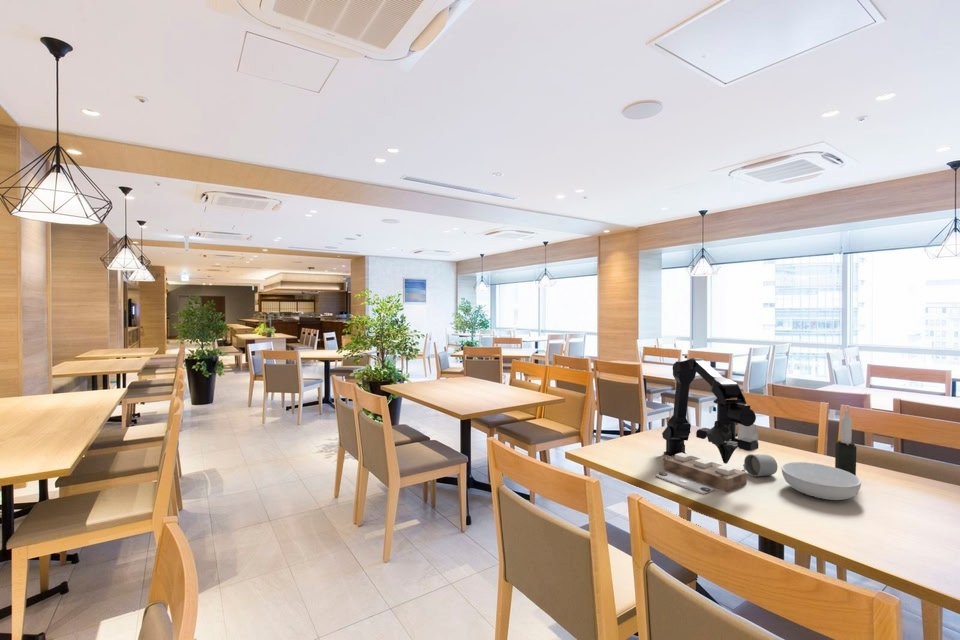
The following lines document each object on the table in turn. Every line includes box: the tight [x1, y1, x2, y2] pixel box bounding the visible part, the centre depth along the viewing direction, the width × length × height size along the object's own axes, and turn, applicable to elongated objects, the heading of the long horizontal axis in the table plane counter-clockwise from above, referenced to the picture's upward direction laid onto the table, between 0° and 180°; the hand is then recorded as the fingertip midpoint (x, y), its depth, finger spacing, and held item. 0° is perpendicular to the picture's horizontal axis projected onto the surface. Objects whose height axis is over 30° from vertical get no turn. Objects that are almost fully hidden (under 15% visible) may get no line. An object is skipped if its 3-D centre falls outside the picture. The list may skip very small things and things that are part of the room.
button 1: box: [675, 452, 692, 462], centre depth 168 cm, size 4×4×3 cm
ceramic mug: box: [742, 453, 778, 477], centre depth 164 cm, size 11×8×8 cm
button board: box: [663, 455, 748, 492], centre depth 161 cm, size 24×12×4 cm, turn 32°
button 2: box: [717, 464, 736, 476], centre depth 154 cm, size 4×4×3 cm
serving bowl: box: [781, 461, 862, 501], centre depth 146 cm, size 21×21×7 cm
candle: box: [834, 409, 857, 476], centre depth 157 cm, size 5×5×25 cm
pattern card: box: [655, 471, 714, 495], centre depth 155 cm, size 19×6×1 cm, turn 32°
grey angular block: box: [737, 423, 759, 443], centre depth 197 cm, size 4×7×10 cm, turn 24°
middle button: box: [695, 458, 713, 469], centre depth 161 cm, size 4×4×3 cm
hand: (725, 463), depth 154 cm, fingers closed
